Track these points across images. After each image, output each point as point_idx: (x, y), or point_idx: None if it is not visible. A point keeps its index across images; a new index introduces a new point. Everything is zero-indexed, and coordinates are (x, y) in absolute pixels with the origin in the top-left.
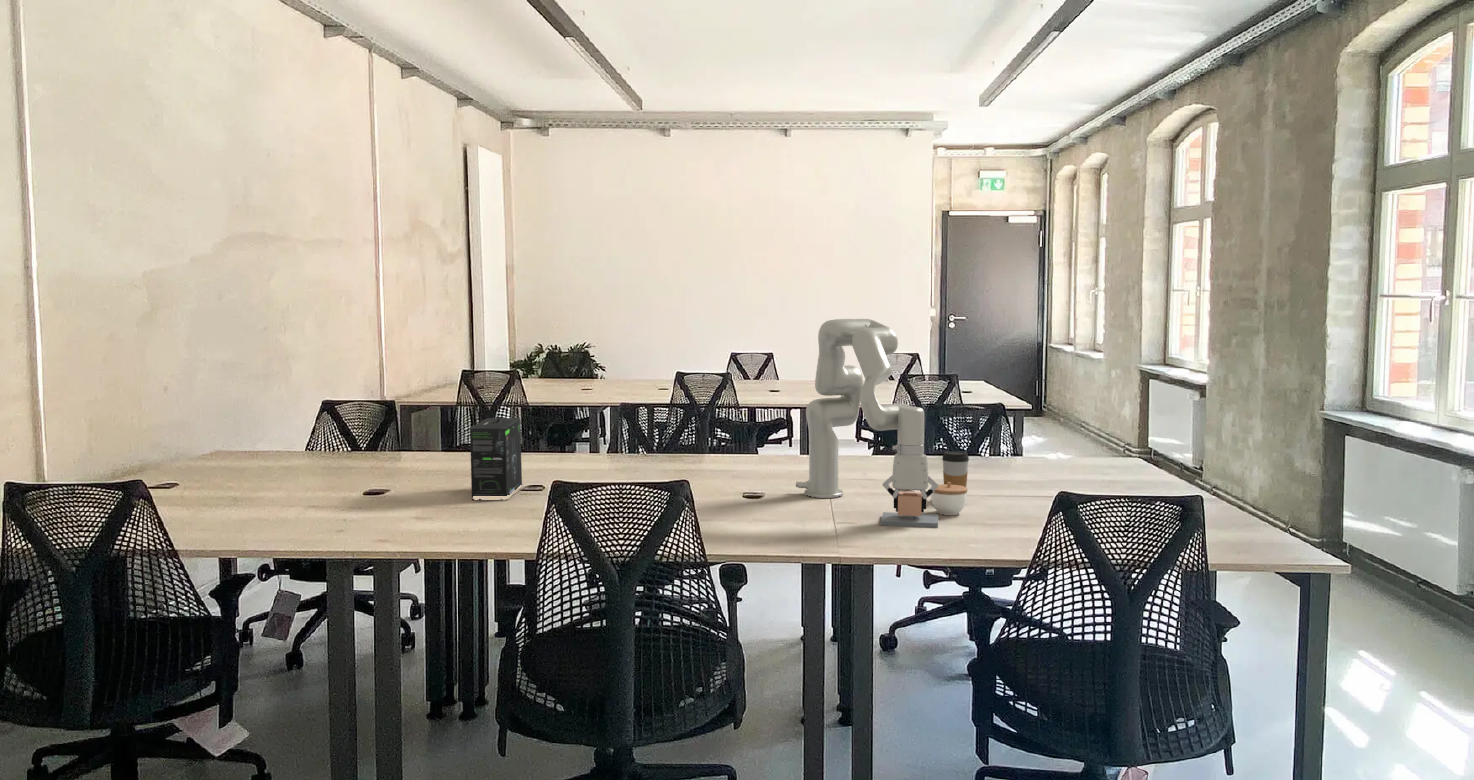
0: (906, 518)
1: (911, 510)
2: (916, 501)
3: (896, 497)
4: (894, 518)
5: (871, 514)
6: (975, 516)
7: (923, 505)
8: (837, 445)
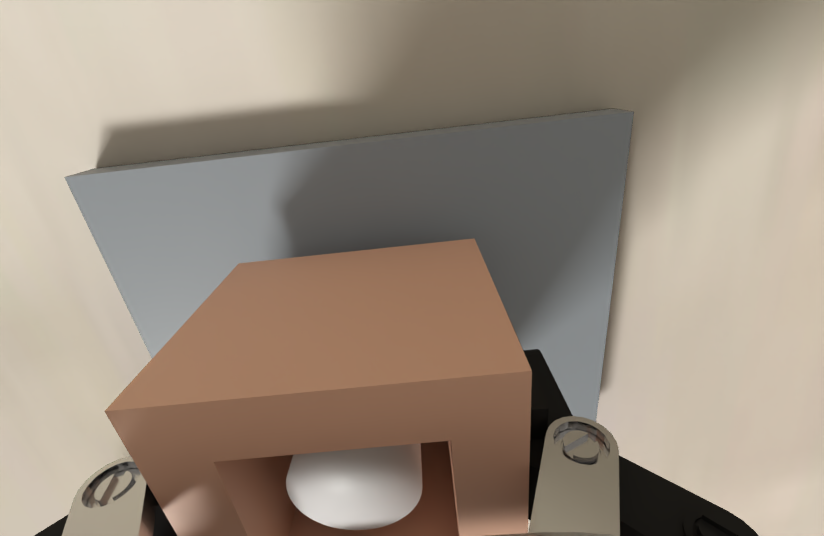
0: None
1: (325, 276)
2: (225, 350)
3: (543, 442)
4: (500, 263)
5: (659, 434)
6: (35, 527)
7: None
8: None
